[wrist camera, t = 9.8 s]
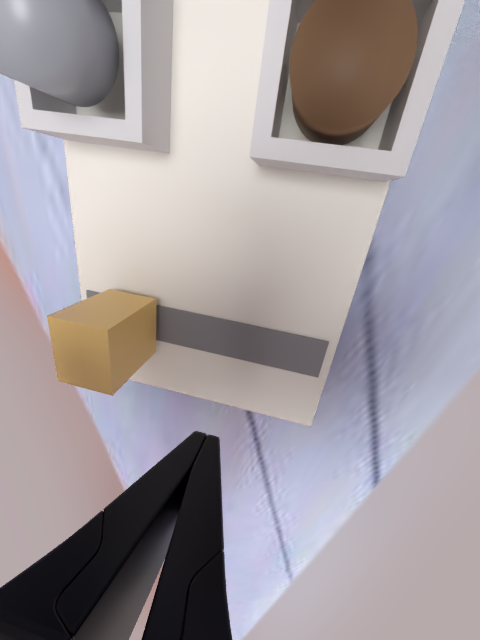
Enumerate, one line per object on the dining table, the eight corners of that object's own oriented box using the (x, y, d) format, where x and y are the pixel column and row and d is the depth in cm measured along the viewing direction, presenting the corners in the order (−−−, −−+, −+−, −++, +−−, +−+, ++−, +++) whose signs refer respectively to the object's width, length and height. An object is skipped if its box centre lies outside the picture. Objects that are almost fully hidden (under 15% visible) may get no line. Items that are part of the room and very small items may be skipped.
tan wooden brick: (156, 298, 16) (107, 330, 12) (156, 351, 17) (112, 395, 13) (109, 288, 16) (46, 315, 12) (112, 341, 18) (58, 381, 14)
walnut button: (402, 37, 10) (440, -26, 7) (369, 152, 11) (391, 135, 9) (303, 31, 10) (303, -31, 8) (284, 141, 12) (279, 123, 9)
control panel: (436, -21, 11) (542, -198, 6) (309, 397, 20) (312, 459, 15) (90, -33, 13) (-33, -172, 9) (114, 349, 22) (61, 390, 18)
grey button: (116, -16, 9) (41, -107, 7) (121, 111, 11) (60, 80, 8) (25, -21, 10) (-80, -106, 7) (42, 102, 11) (-40, 70, 9)
